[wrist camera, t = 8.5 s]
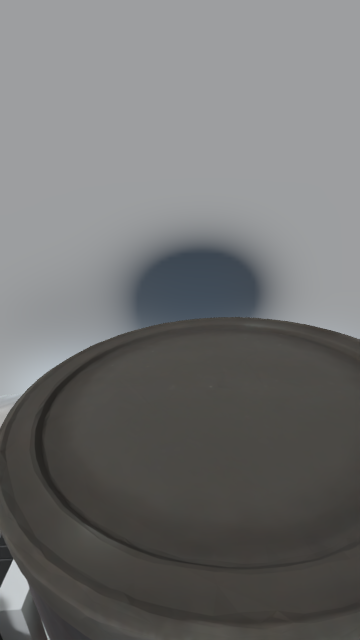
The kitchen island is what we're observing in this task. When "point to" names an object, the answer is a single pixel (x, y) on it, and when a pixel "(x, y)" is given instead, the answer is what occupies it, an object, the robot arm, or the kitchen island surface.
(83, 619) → the coffee can
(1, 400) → the kitchen island surface
